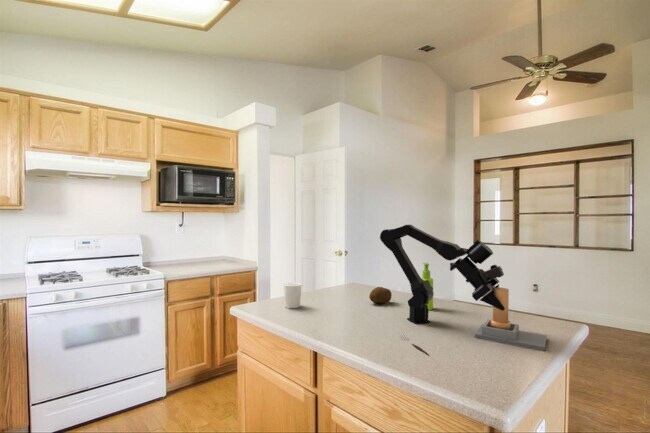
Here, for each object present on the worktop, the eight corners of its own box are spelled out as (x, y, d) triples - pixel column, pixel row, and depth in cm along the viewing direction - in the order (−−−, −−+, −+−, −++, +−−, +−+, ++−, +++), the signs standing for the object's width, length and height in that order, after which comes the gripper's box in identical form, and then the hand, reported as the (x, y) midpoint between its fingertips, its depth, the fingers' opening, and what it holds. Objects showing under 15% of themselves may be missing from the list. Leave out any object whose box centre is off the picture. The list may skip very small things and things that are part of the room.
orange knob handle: (494, 329, 116) (494, 290, 116) (488, 323, 122) (488, 286, 122) (513, 330, 115) (513, 291, 115) (506, 324, 121) (506, 287, 121)
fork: (425, 357, 101) (425, 351, 101) (398, 339, 116) (398, 333, 116) (433, 356, 102) (433, 349, 102) (405, 338, 117) (405, 332, 117)
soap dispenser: (430, 306, 157) (431, 262, 157) (434, 310, 151) (434, 264, 150) (417, 305, 158) (418, 262, 158) (420, 309, 151) (420, 264, 151)
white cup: (280, 307, 153) (281, 285, 153) (287, 303, 161) (288, 282, 161) (297, 309, 151) (297, 286, 151) (303, 304, 158) (304, 283, 158)
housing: (474, 337, 117) (474, 326, 117) (482, 327, 128) (482, 317, 128) (544, 351, 106) (544, 339, 106) (546, 338, 116) (546, 327, 116)
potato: (395, 303, 163) (395, 286, 163) (378, 307, 155) (378, 290, 155) (382, 299, 169) (382, 284, 169) (364, 303, 161) (365, 287, 161)
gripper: (483, 260, 113) (521, 299, 107) (493, 255, 128) (527, 288, 122) (457, 281, 117) (493, 320, 111) (470, 274, 133) (502, 307, 126)
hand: (505, 308), depth 118 cm, fingers closed on orange knob handle, 5 cm apart
